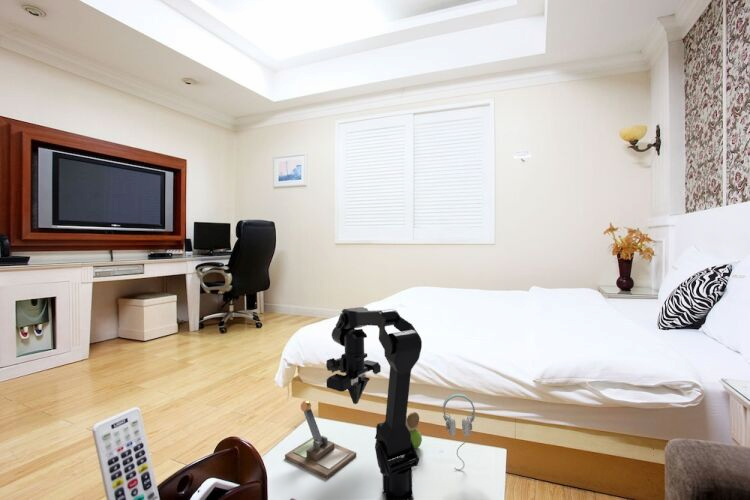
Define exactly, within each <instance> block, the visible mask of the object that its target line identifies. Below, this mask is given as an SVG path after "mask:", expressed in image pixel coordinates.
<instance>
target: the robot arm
mask: <svg viewBox="0 0 750 500" xmlns="http://www.w3.org/2000/svg"><path fill="white" fill-rule="evenodd" d="M341 312H342V313H340V314H339V317H338V320H337V322H336V324H335V326H334V328H333V329H332V332H331V338H332V340H333V341H334V342H335V343H337V344H338V345H340V346H341V347H344V353H343V354H341V356H340V357H338V358H336V359H335V358H329V359H326V364H325V365H326V369H327V371H329V372H331V373H334V372H338V371H340V372H339V373H342V374H339V373H335V374H333V375H331V376H329V377H327V379H326V388H327V389H331V390H334V391H338V392H345V391H347V390H348V393H349V397H350V398H351V401H352V403H353V404H354V405H357V404H358V403H359V401H360V399H361V397H362V395H363V392H364V390H365V389H366V386H367V384H368V382H369V381H370V377H367V373H369V372H370V371H372V373H373V374H374V375H377V374H379V373H382V371H381V364H380V363H379V362H378V361H374V360H369V359H368V360H365V359H367V358H368V353H366V352H365V338H366V339H367V337H368V336H367V333H366V332H365V331H364V330H363V328H362V327H366V326H372V327H373V326H377V327H378V330H379V332H378V341H379V342H380V344H381V346H382V348H383V350H384V351H383V352H384V357H385V359H386V360H387V363H388V365H389V375H388V376H389V378H388V386H387V387H388V388H387V398H386V399H387V400H386V407H385V411H386V412H385V419H384V421H382V422H380V423H377V424H376V430H375V432H376V433H375V437H374V439H375V444H374V450H375V455H376V461H377V465H378V468H379V473H381V474H382V476H381V477H382V493H383V494H384V495H385V500H414V498H415V496H414V492H413V467H418V466H419V462H420V457H419V455H418V453H417V451H416V449H415V448H414V446H413V443H412V441H411V433H410V431H409V430H408V428H407V426H406V416H407V417H408V415H407V413H408V406H409V405H408V403H409V395H410V384H411V377H412V370H413V368H414V366H415V365H416V364H417V362H418V361H419V360H420V355H421V351H422V347H423V346H422V345H423V340H422V338H421V336H420V334H419V333H418V331H417V330H416V328H415V327H414V325H413V324H412V323H410V322H409V321H408V320H406V318H403V317H402V316H401V315H400V313H399V312H398V311H397V310H396V309H393V308H389V309H380V310H379V309H378V310H369V309H368V308H367V307H364V306H360V307H359V306H358V307H350V308H343V309H342V310H341ZM389 326H393V327H394V328H395V329H397V332H391V333H388V332H387V330H386V327H389ZM344 374H345V375H344Z"/></svg>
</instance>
